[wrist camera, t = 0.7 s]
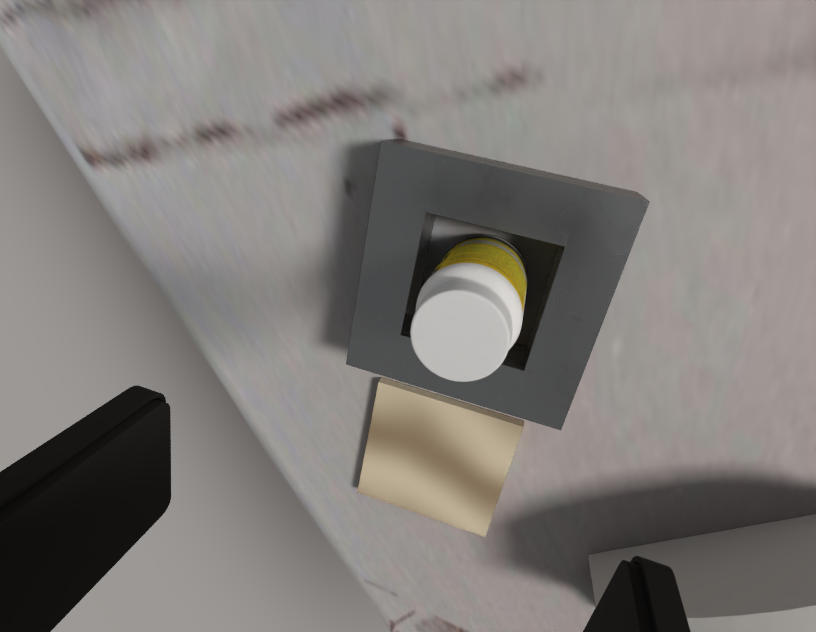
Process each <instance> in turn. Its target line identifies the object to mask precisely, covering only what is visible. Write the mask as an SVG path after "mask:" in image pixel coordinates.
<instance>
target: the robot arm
mask: <svg viewBox="0 0 816 632" xmlns="http://www.w3.org/2000/svg"><path fill="white" fill-rule="evenodd" d="M170 446H171V440H170V406H169V404H168V403H166V400H165V397H164V395H163V394H161V393H158V392H155V391H152V390H150V389H147V388H144V387H141V386H133V387H131V388H129V389H127V390H126V391H124V392H122V393H121V394H120V395H118V396H116V397H115V398H113V399H112V400H110V401H109V402H107V403H106V404H104V405H103V406H101V407H99V408H98V409H96V410H95V411H93V412H92V413H90V414H89V415H87V416H86V417H84V418H82V419H81V420H80V421H78V422H76V423H75V424H74V425H72V426H70V427H69V428H67V429H66V430H64V431H62V432H61V433H59V434H58V435H56V436H55V437H53V438H52V439H50V440H49V441H47V442H46V443H44V444H43V445H41V446H39V447H38V448H36V449H35V450H33V451H32V452H30V453H29V454H27V455H26V456H24V457H23V458H21V459H20V460H18V461H16V462H15V463H13V464H12V465H11V466H9V467H7V468H6V469H4V470H3V471H1V472H0V632H50V631H51V630H52V629H53V628H54V627H55V626H56V625H57V624H58V623H59V622H60V621H61V620H62V619H63V618H64V617H65V616H66V614H68V613H69V612H70V611H71V609H72V608H73V607H74V606H75V605H76V604H77V603H78V602H79V601H80V600H81V599H82V598H83V597H84V596H85V595H86V594H87V593H88V592H89V591H90V590H91V589H92V588H93V587H94V586H95V585H96V583H98V581H99V580H100V579H101V578H102V577H103V576H104V575H105V574H106V573H107V572H108V571H109V570H110V569H111V568H112V567H113V566H114V565H115V564H116V563H117V562H118V561H119V560H120V559H121V558H122V556H123V555H124V554H125V553H126V552H127V551H128V550H129V549H130V548H131V547H132V546H133V545H134V544H135V543H136V542H137V541H138V540H139V539H140V538H141V537H142V536H143V535H144V534H145V533H146V532H147V530H149V528H150V527H151V526H152V525H153V524H154V523H155V522H156V521H157V520H158V519H159V518H160V517H161V516H162V515H163V513H164V512H165V511H166V509H167V508H168V505H169V503H170V500H171V447H170ZM583 632H691V631H690V628H689V624H688V621H687V617H686V614H685V610H684V607H683V603H682V600H681V596H680V593H679V589H678V586H677V582H676V579H675V575H674V573H673V570H672V569H671V568H670V567H669V566H666V565H663V564H660V563H658V562H655V561H652V560H649V559H646V558H643V557H640V556H635V557H633V558H632V560H631V561H630V562H629V561H626V560H622V561H621V562H620V564H619V565H618V567H617V569H616V571H615V573H614V575H613V577H612V578H611V580H610V582H609V584H608V586H607V588H606V590H605V592H604V593H603V595H602V597H601V599H600V601H599V603H598V605H597V607H596V608H595V610H594V612H593V614H592V616H591V618H590V620H589V622H588V623H587V625H586V627H585V629H584V631H583Z"/></svg>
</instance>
